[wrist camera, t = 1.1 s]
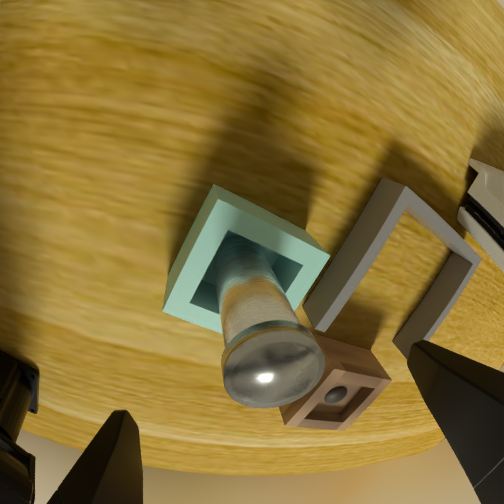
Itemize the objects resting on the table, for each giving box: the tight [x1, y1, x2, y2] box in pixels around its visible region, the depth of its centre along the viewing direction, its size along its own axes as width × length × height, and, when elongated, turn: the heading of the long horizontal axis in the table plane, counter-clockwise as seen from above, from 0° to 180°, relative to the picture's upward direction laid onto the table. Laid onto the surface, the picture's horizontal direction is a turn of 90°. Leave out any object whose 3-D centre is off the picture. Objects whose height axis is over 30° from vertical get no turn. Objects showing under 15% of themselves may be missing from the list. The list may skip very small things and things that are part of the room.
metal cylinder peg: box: [213, 235, 325, 408], centre depth 13 cm, size 3×3×9 cm
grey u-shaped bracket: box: [302, 177, 482, 359], centre depth 19 cm, size 10×11×2 cm
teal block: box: [162, 184, 330, 334], centre depth 16 cm, size 6×6×4 cm
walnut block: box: [279, 334, 392, 430], centre depth 21 cm, size 6×6×4 cm
